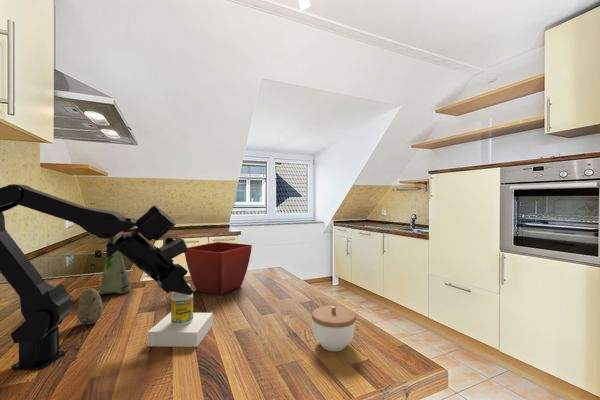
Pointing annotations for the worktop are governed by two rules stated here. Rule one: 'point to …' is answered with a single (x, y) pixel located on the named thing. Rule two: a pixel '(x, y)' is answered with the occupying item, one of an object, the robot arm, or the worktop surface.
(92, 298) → the decorative egg
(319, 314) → the lidded jar
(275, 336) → the worktop surface
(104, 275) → the pouch
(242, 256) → the plant pot
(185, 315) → the supplement bottle
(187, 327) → the podium
